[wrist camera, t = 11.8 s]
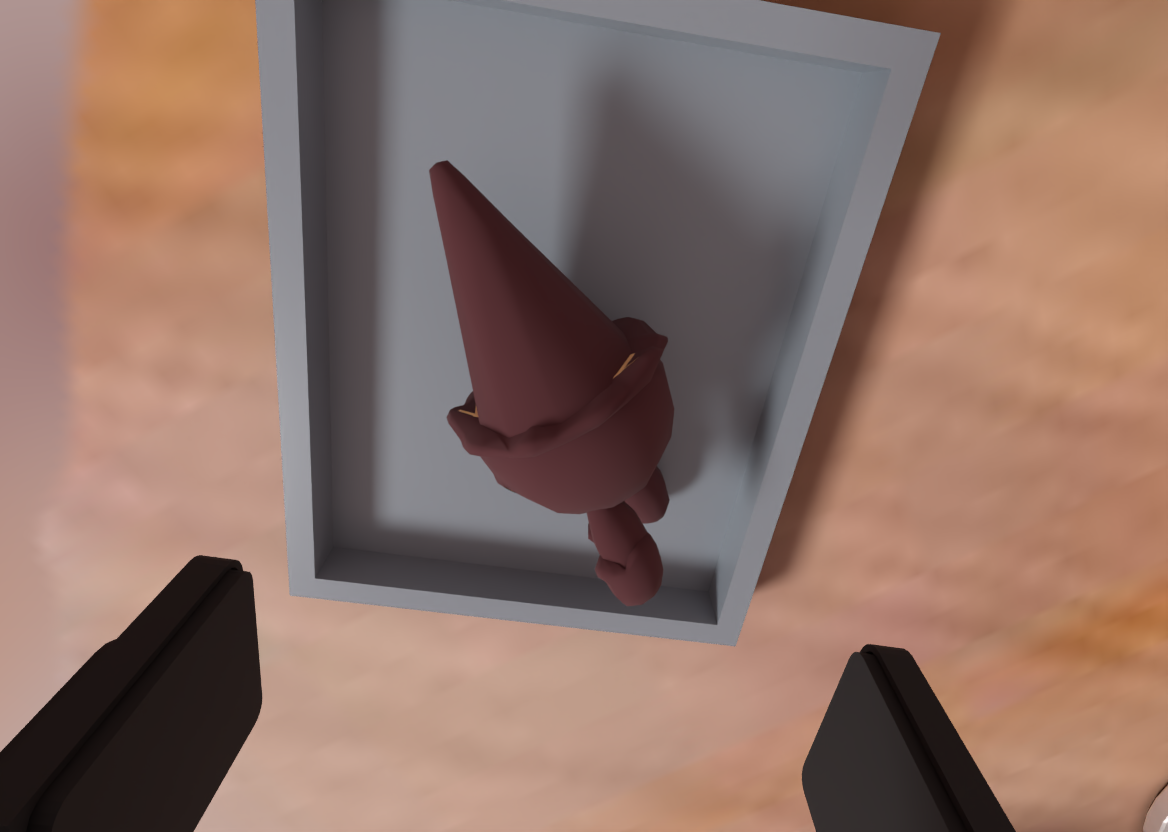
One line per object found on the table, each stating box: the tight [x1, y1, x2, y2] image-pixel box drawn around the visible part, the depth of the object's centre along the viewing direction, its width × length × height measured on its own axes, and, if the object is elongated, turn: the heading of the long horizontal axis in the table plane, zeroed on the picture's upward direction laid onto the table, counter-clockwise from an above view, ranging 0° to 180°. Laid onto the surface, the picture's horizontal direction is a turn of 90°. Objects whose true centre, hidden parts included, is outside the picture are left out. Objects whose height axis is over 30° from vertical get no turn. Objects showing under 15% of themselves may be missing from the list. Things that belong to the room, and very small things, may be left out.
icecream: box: [429, 160, 674, 606], centre depth 20 cm, size 7×7×15 cm
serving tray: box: [255, 0, 941, 646], centre depth 22 cm, size 18×22×2 cm
